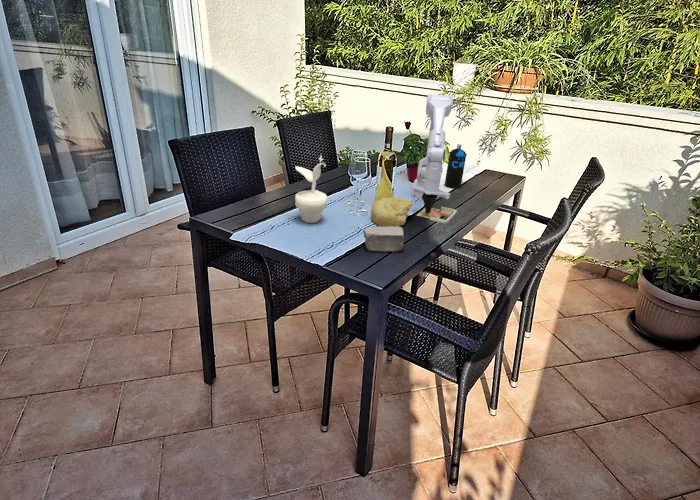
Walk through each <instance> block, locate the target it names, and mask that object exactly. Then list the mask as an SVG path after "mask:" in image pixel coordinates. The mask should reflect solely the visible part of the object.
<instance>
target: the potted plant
mask: <svg viewBox="0 0 700 500" xmlns="http://www.w3.org/2000/svg"><path fill="white" fill-rule="evenodd" d="M319 156H320V157H318V158H317V159H318V160H319V164H317V165H316V166H315V167H314V168H313V171H312V170H310V169H307V168H305V167H302V166H296V165H295V167H294V168H295V170H296V172H298V173H300V174H301V175H302V176H304V178H305V179H306V181H308V182H309V183H311V190H302V191H298V192H297V193H296V194H295V195H294V196H295V197H294V198H295V200H294V201H295V204H294V205H295V207H296V208H297V209H298V212H299V214H300V216H301V220H302V221H303V222H304V223H307V224H315V223H317V222H319V221H320V220H321V218H322V214H323V213H324V210H325V209H326V208H327V207H328V195H327V194H326V193H324V192H322V191H319V190H318V189H316V187H317V180H319V178H320V177H321V174H322V172H321V171H322V169H321V166H322V165H323V167H324V168H325V167H326V166H327V164H326V163H325V162H322V161H323V160H325V159H324V158H323V157H322V155H319Z"/></svg>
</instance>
